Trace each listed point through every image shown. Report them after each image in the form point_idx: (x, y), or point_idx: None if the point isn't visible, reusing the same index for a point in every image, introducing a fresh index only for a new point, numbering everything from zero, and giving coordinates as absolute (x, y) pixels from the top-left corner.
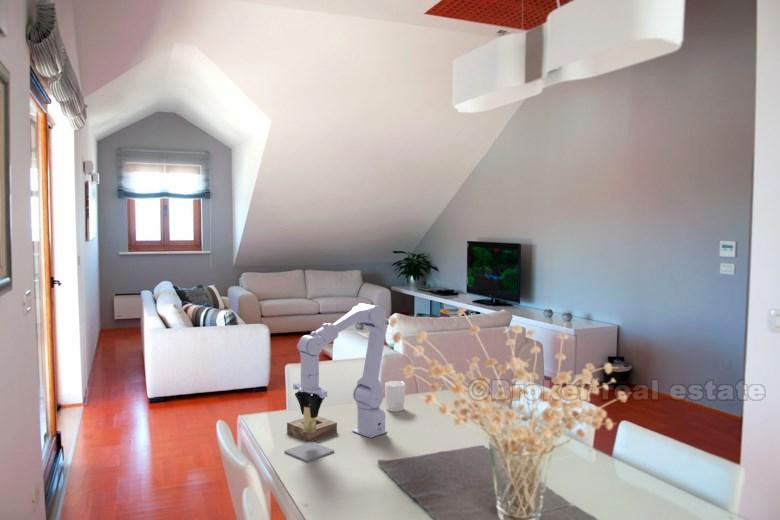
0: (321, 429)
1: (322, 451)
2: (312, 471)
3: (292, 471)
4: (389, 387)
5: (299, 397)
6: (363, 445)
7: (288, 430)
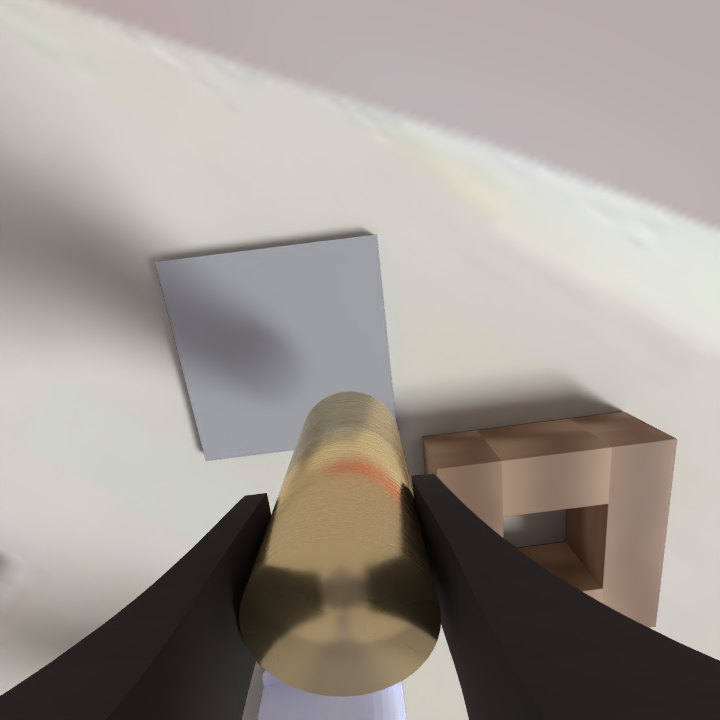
0: None
1: (227, 404)
2: (18, 212)
3: (78, 108)
4: None
5: (519, 679)
6: None
7: (623, 420)
